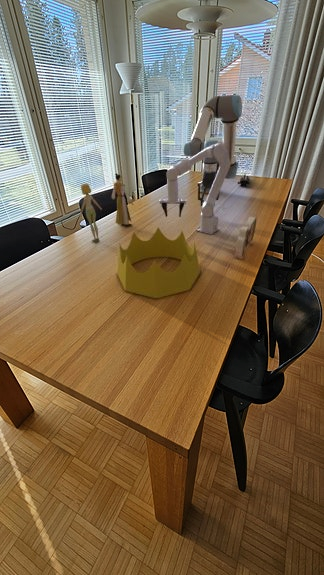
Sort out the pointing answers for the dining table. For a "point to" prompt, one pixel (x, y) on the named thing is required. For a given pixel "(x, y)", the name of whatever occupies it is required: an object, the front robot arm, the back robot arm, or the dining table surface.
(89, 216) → the sculpture
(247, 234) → the cutout
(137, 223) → the dining table surface
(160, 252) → the crown
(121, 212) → the figurine
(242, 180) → the toy
